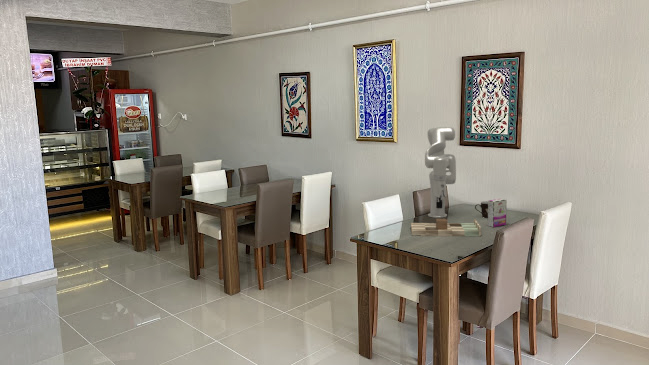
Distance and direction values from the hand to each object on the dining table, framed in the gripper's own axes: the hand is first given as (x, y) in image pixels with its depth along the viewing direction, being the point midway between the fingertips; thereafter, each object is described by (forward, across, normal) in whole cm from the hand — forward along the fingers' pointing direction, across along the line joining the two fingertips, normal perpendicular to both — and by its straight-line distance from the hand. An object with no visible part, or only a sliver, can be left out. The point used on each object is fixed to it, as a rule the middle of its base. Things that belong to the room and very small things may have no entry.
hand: (439, 208), depth 295 cm
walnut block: (+10, -8, +1) cm, 13 cm away
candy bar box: (+14, +1, -38) cm, 40 cm away
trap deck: (+13, -5, -1) cm, 15 cm away
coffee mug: (+14, +25, -42) cm, 50 cm away
